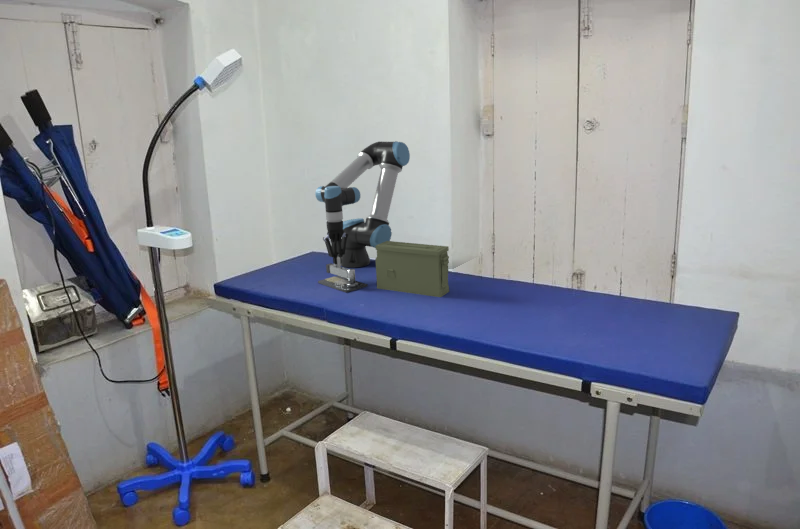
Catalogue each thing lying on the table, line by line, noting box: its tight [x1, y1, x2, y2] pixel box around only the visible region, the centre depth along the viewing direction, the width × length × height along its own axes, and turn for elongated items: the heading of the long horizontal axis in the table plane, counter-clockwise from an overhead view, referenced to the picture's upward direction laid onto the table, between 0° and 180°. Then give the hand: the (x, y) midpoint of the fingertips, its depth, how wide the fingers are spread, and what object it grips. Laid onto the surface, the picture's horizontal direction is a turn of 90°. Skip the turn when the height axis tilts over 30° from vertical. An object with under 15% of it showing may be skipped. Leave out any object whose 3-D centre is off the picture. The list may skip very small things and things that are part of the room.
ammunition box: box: [375, 240, 450, 298], centre depth 259 cm, size 10×33×20 cm, turn 59°
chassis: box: [317, 275, 368, 294], centre depth 274 cm, size 12×22×2 cm, turn 41°
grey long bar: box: [325, 262, 357, 284], centre depth 273 cm, size 19×3×6 cm, turn 41°
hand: (338, 270), depth 278 cm, fingers closed
